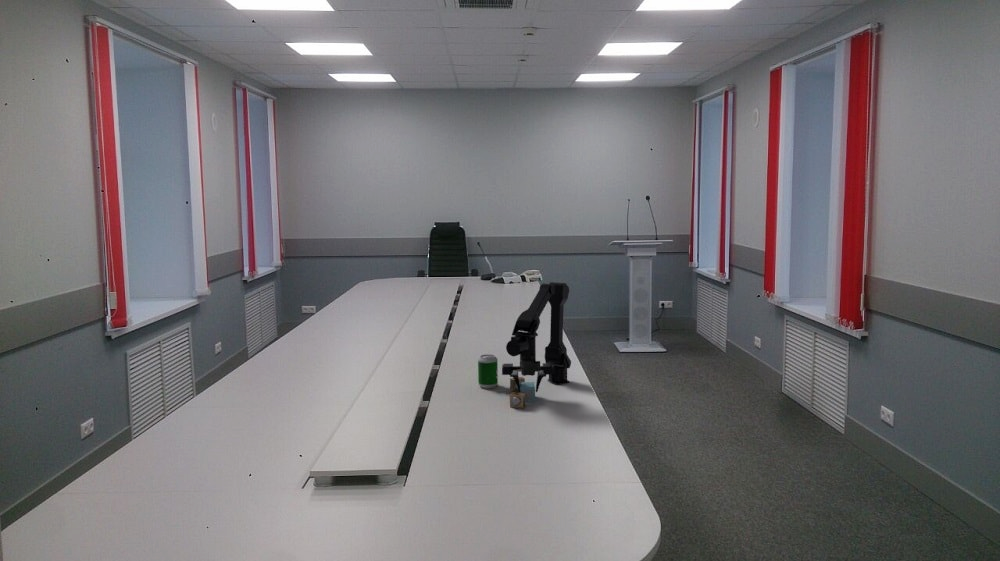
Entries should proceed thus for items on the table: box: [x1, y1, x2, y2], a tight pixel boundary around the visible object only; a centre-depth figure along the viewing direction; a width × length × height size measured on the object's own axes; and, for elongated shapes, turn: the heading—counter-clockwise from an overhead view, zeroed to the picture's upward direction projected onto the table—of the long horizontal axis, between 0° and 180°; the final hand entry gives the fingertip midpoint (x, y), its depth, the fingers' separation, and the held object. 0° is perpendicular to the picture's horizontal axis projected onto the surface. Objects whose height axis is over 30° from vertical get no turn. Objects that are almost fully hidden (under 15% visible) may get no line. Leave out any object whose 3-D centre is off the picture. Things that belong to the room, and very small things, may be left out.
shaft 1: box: [509, 376, 526, 393], centre depth 245 cm, size 7×5×5 cm
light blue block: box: [520, 381, 536, 402], centre depth 237 cm, size 6×5×6 cm
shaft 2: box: [509, 392, 527, 410], centre depth 229 cm, size 7×5×5 cm
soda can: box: [477, 354, 499, 389], centre depth 252 cm, size 8×8×12 cm
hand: (528, 391), depth 237 cm, fingers open, 6 cm apart
